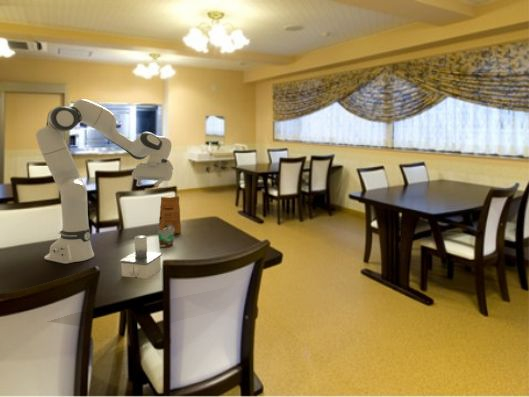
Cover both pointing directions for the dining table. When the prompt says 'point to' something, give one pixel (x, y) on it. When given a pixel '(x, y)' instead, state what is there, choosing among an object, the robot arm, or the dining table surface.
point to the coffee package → (170, 213)
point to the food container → (166, 236)
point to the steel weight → (140, 246)
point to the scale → (141, 269)
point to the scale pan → (143, 261)
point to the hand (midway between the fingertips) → (147, 185)
